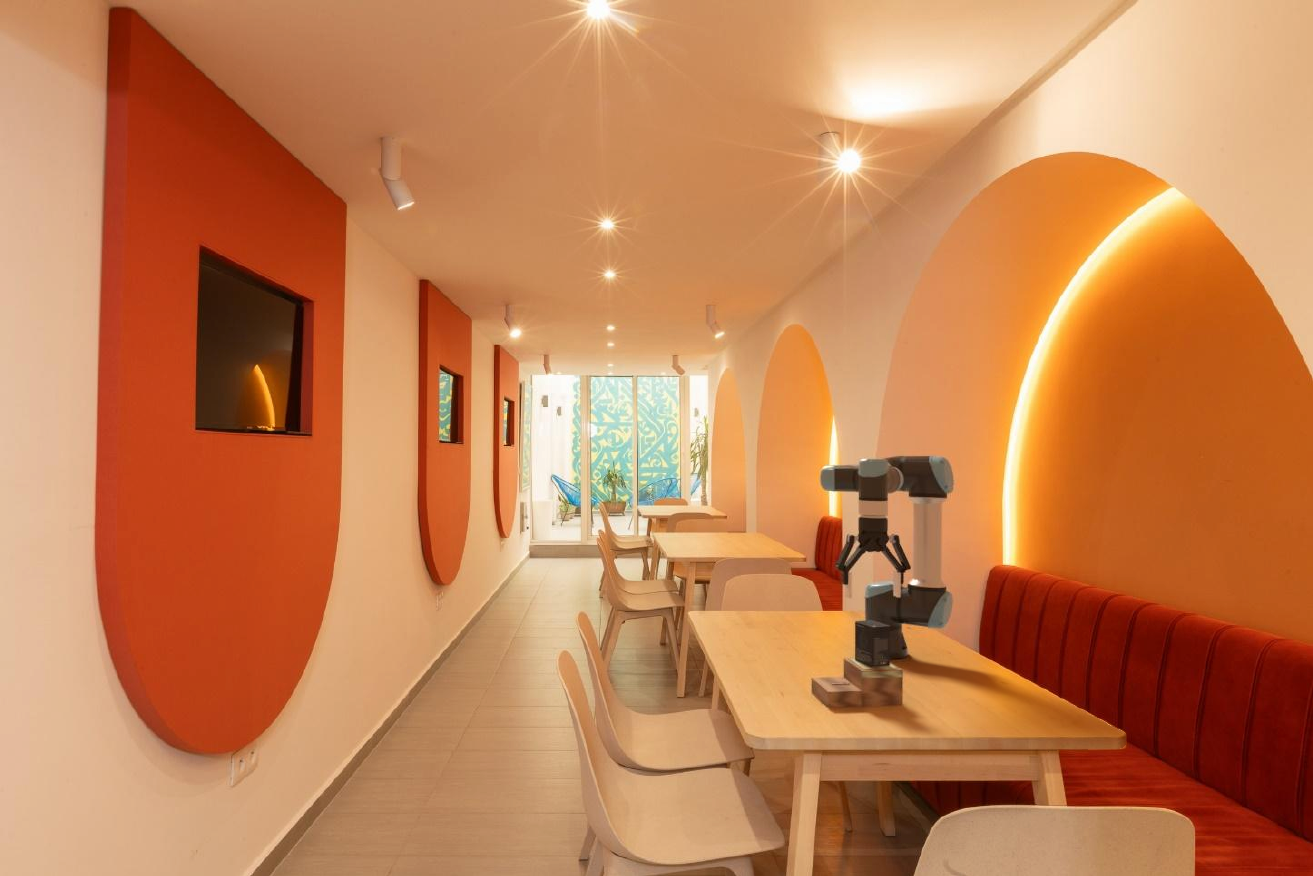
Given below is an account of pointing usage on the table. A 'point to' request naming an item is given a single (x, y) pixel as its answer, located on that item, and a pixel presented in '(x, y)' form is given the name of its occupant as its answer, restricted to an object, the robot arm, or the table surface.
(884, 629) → the box
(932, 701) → the table surface
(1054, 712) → the table surface
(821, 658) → the table surface
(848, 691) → the stand
